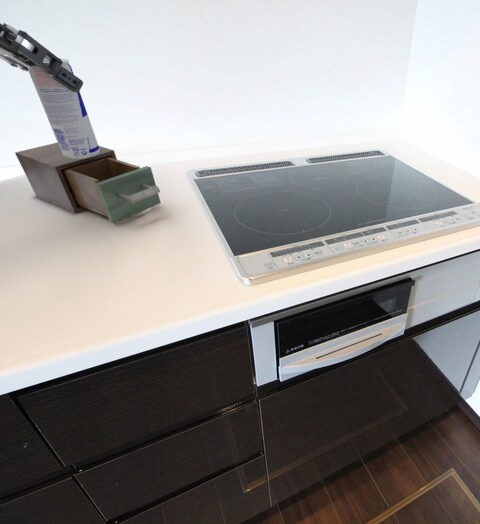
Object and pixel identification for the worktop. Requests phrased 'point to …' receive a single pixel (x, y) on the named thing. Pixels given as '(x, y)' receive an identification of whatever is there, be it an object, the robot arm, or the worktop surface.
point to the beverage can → (66, 115)
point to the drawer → (113, 187)
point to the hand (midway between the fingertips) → (68, 84)
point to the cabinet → (54, 173)
